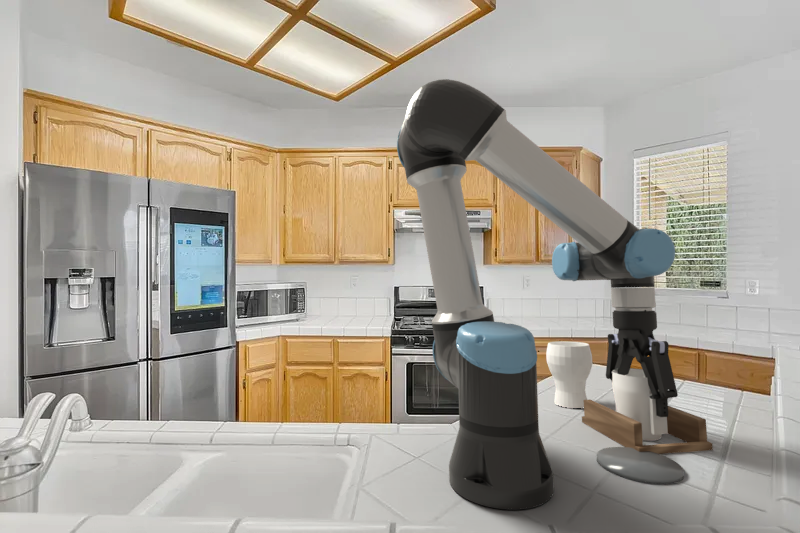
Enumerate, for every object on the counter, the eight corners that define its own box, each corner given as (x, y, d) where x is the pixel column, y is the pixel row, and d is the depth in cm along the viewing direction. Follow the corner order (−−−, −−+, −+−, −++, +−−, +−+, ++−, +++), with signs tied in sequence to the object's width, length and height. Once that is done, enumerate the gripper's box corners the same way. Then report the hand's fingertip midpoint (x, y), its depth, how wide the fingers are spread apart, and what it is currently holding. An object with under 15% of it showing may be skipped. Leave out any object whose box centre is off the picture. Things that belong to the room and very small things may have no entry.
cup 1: (596, 402, 97) (593, 342, 98) (592, 413, 88) (588, 347, 89) (552, 396, 103) (550, 340, 104) (544, 406, 94) (541, 345, 95)
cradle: (639, 455, 66) (637, 425, 66) (582, 422, 83) (580, 398, 83) (712, 450, 67) (710, 421, 68) (641, 418, 84) (640, 395, 85)
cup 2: (670, 447, 69) (666, 379, 70) (613, 438, 74) (609, 374, 74) (667, 431, 77) (663, 370, 77) (615, 424, 81) (612, 366, 82)
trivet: (629, 487, 55) (629, 482, 56) (581, 452, 67) (581, 449, 67) (704, 481, 57) (704, 476, 57) (644, 448, 69) (644, 444, 69)
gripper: (698, 311, 66) (707, 445, 65) (615, 306, 88) (620, 407, 86) (658, 312, 66) (667, 447, 64) (584, 307, 87) (589, 408, 86)
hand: (640, 424), depth 75 cm, fingers closed on cup 2, 9 cm apart
